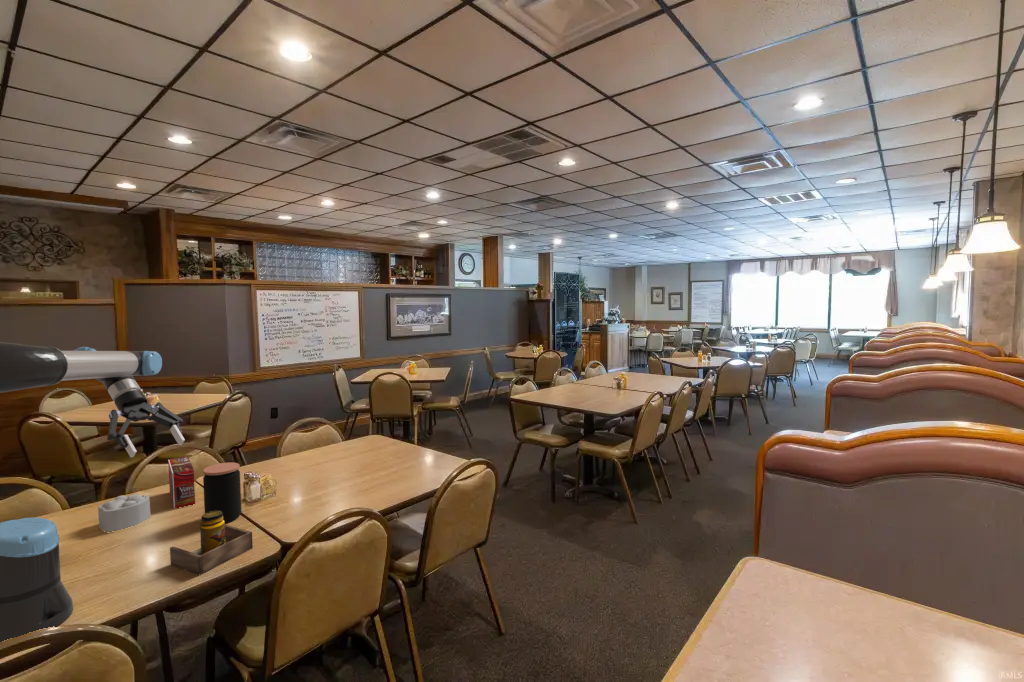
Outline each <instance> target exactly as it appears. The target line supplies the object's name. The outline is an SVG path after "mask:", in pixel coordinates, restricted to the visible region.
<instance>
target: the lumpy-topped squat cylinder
mask: <svg viewBox="0 0 1024 682" xmlns="http://www.w3.org/2000/svg"><path fill="white" fill-rule="evenodd" d="M150 499H151V498H150V496H148V495H145V494H143V495H141V494H135V493H134V494H131V495H129V496H127V495H118V496H117V497H115V498H114V499H112V500H108V501H106V502H104V503H102V504H100V505H99V506H98V507H97V509H98V510H97V511H98V512H97V513H98V528H101V529H103V530H104V531H105V532H112V531H117V530H121V529H124V530H126V529H125V528H128V527H131V526H134V527H136V526H135V525H137V524H139V523H142V522H143V521H145V520H147V519H148V518H150V519H151V517H150V516H152V515H151V502H150V501H151V500H150ZM148 520H149V519H148ZM148 520H147V521H148ZM145 522H146V521H145ZM143 523H144V522H143ZM143 523H142V524H143ZM139 525H140V524H139ZM137 526H138V525H137ZM131 528H132V527H131ZM101 529H100V530H101ZM128 529H129V528H128ZM103 530H102V531H103ZM104 531H103V532H104ZM121 531H122V530H121ZM105 532H104V533H105ZM117 532H118V531H117ZM112 533H113V532H112Z"/></svg>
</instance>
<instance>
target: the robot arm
mask: <svg viewBox="0 0 1024 682" xmlns="http://www.w3.org/2000/svg"><path fill="white" fill-rule="evenodd" d="M162 367H163V359H162V356H161V354H160V353H158V351H155V350H154V351H153V350H152V351H151V350H150V351H149V350H139V351H138V350H133V351H132V350H96V348H91V347H89V346H81V347H78V348H75V349H74V350H60V349H59V348H57V347H54V346H42V345H31V344H21V343H15V342H14V343H13V342H3V341H0V393H1V394H3V393H8V392H15V391H21V390H27V389H33V388H41V387H51V386H55V385H57V384H59V383H60V382H63V381H64V382H65V381H74V380H77V381H79V380H91V379H94V380H96V381H97V382H100V383H102V384H103V386H104V387H105V390H107V393H108V394H109V396H110V397H111V399H112V401H113V402H114V405H115V406H116V408H117V410H116V408H115V409H113V408H112V409H111V411H110V413H109V414H108V418H109V421H110V422H109V427H108V431H107V437H106V439H107V441H112V440H114V442H115V443H118V445H119V446H120V448H122V449H125V450H126V452H127V454H128V456H129V458H134V457H135V455H136V453H137V452H138V451H137V449H136V447H135V445H134V444H133V442H132V441H131V439H130V437H129V435H128V434H125V432H126V431H127V429H128V427H129V426H130V424H131V422H134V423H135V422H140V421H146V420H148V421H154V422H155V423H158V424H161V425H163V426H166V427H168V428H170V429H169V431H170V432H171V435H172V437H173V438H174V440H175V441H176V443H177V444H178V446H182V445H183V444H184V442H185V441H186V439H185V437H184V436H183V430H182V428H181V424H183V422H184V419H182V417H180V416H179V415H177V414H175V412H172V411H171V410H170V409H168V408H166V407H165V406H164V405H163V404H162V402H156V403H155V404H153V405H151V404H149V402H148V399H147V396H145V393H144V392H143V391H142V388H141V387H140V385H139V384H138V383H137V381H136V379H135V377H137V376H144V377H146V376H154V375H155V376H156V375H157V374H159V372H161V369H162ZM134 376H135V377H134ZM119 417H123V418H125V420H124V423H123V425H122V426H121V428H120V429H119V431H118V432H116V431H117V426H118V419H119ZM61 579H62V578H61V558H60V536H59V534H58V527H57V524H56V523H55V522H54V521H53V520H50V519H47V518H43V517H24V518H20V519H10V520H5V521H2V522H0V642H2V641H4V640H7V639H10V638H14V637H18V636H21V635H24V634H27V633H29V632H33V631H36V630H39V629H43V628H48V627H53V626H57V627H58V626H60V625H61V624H62V623H64V622H66V620H67V619H69V618H70V616H71V615H72V613H73V610H74V605H73V604H74V603H73V602H74V601H73V598H72V597H71V595H70V593H69V592H68V590H67V588H66V587H65V585H64V584H63V582H62V580H61Z"/></svg>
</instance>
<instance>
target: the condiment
mask: <svg viewBox="0 0 1024 682" xmlns="http://www.w3.org/2000/svg"><path fill="white" fill-rule="evenodd" d="M200 518H201V521H200V523H201V524H200V527H199V529H200V530H199V533H200V534H199V535H200V548H201V550H200V551H195V550H194V552H193V551H192V552H193V553H195V554H198V555H202V554H204V553H206V552H208V551H211V550H213V549H215V548H217V547H219V546H221V545H223V544H225V525H226V523H225V521H224V520H223V512H221V511H210V512H207V513H205V512H204V513H203V514H202V515H201V517H200Z"/></svg>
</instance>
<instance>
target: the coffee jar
mask: <svg viewBox="0 0 1024 682" xmlns="http://www.w3.org/2000/svg"><path fill="white" fill-rule="evenodd" d="M202 473H203V475H204V476H203V478H202V480H203V481H202V482H203V483H202V484H203V504H204V507H203V508H204V514H205V513H207V512H210V511H221V512H223V520H224V521H225V524H228V522H229V523H231V522H233V521H235V519H236V520H237V519H238V518H239V517H240V516H241V513H242V493H241V491H242V489H241V472H240V464H239V463H238V462H233V461H232V462H220V463H216V464H211V465H208V466H206V467H204V468H203V470H202Z"/></svg>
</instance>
